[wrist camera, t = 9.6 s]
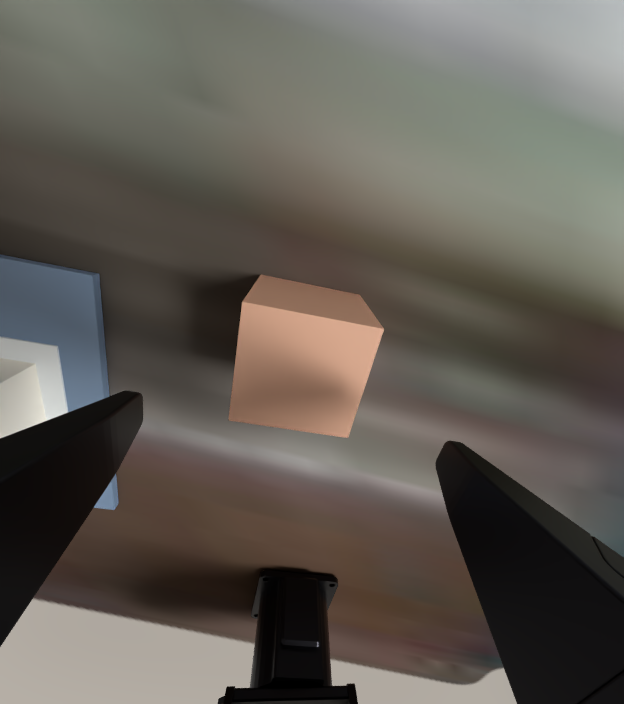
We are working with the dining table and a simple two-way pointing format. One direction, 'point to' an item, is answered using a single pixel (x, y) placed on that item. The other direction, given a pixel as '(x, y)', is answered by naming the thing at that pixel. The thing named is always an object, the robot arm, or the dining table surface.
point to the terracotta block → (302, 357)
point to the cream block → (19, 397)
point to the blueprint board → (56, 336)
